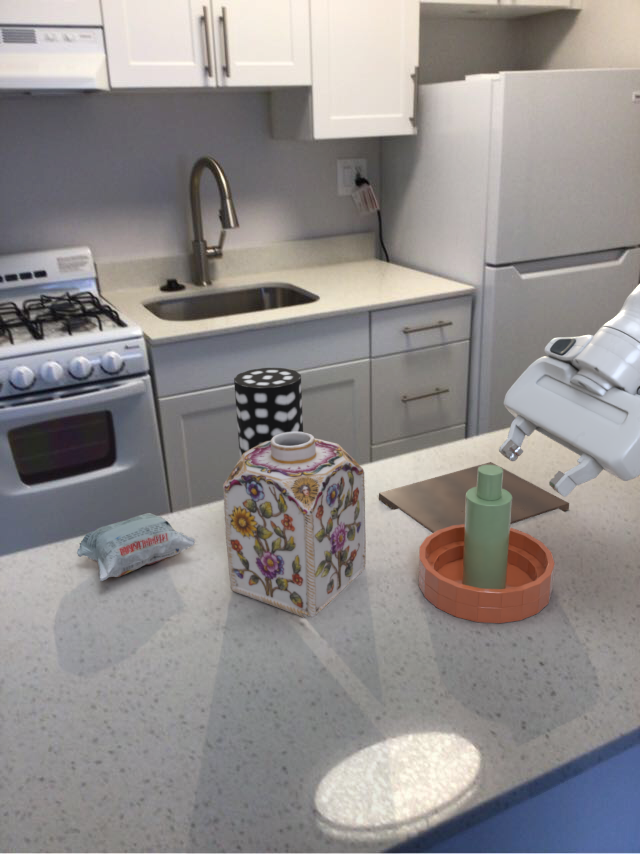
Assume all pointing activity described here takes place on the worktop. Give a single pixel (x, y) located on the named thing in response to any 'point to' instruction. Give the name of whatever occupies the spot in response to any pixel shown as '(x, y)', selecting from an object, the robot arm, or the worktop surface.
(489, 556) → the bottle
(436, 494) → the board
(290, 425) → the spotted tube
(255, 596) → the decorative jar
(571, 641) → the worktop surface
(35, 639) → the worktop surface
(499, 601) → the bowl
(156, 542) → the packaged food
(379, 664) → the worktop surface
